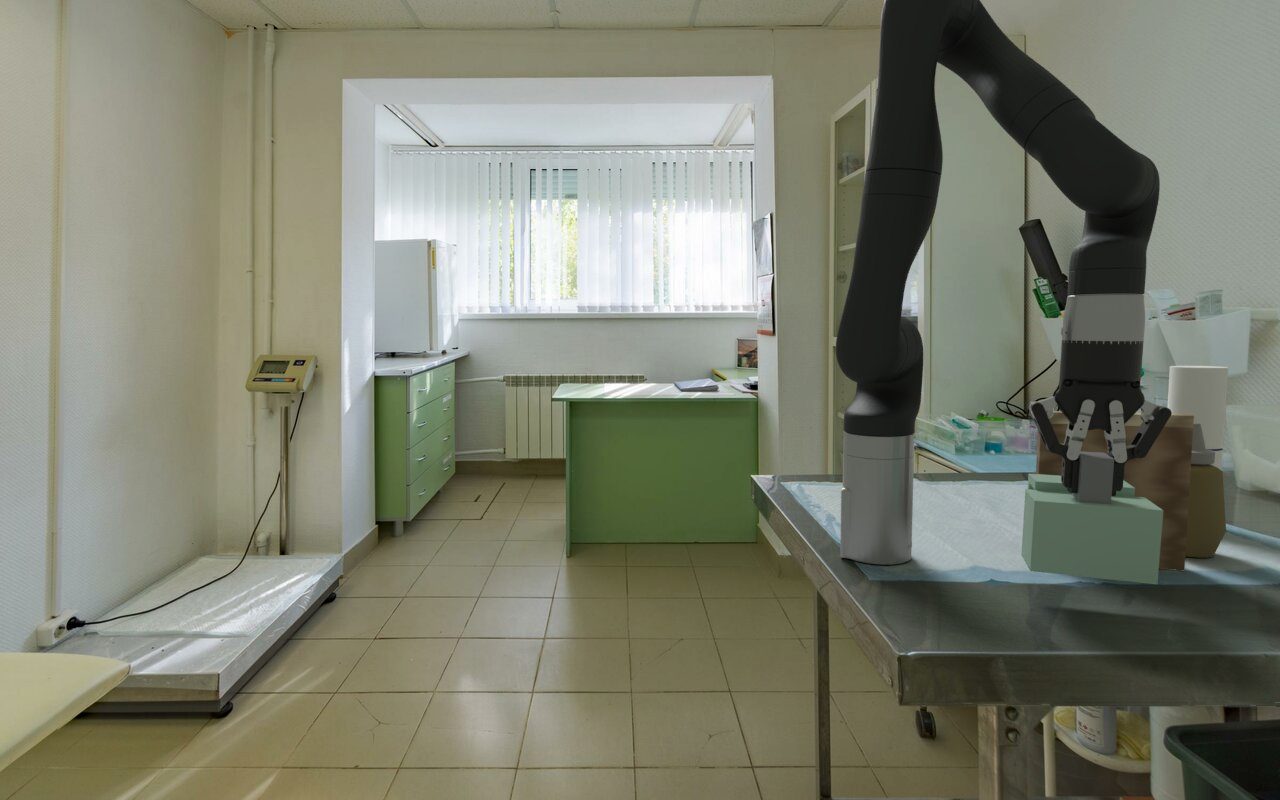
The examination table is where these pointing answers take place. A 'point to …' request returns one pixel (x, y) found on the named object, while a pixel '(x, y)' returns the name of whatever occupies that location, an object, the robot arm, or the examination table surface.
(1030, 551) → the green box
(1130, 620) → the examination table surface
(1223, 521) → the squeeze bottle
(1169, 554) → the wall board
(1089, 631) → the examination table surface
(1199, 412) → the cylindrical container
